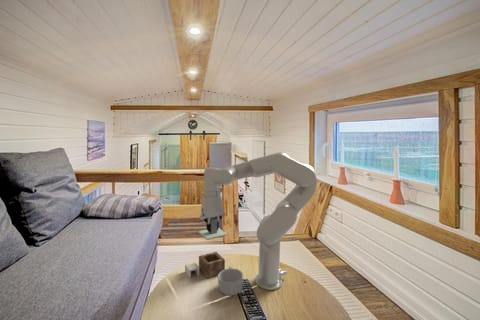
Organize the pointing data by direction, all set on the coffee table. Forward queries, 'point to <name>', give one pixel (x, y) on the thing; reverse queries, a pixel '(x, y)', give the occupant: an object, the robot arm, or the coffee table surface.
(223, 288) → the teacup
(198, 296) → the coffee table surface
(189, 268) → the matte white cube
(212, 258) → the brown wooden box
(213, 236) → the lid
